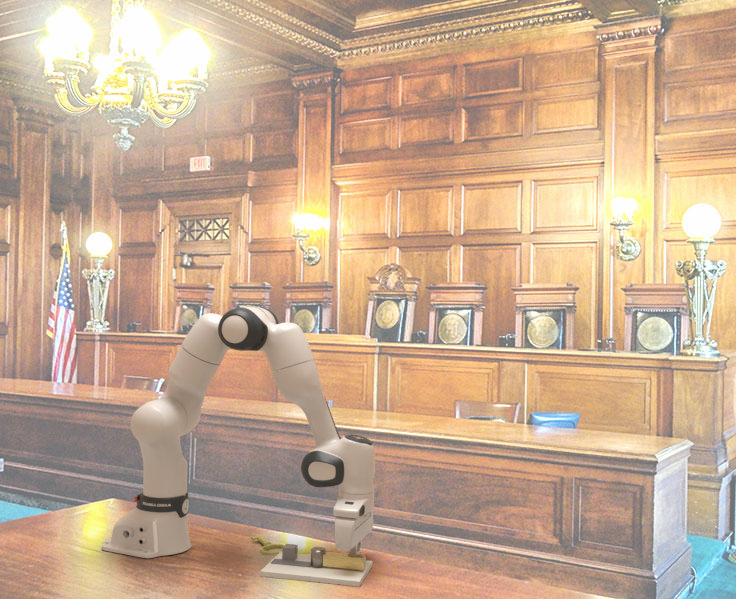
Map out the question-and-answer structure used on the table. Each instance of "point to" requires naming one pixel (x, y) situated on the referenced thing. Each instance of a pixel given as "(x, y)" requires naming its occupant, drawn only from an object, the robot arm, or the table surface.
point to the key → (267, 545)
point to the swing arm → (336, 559)
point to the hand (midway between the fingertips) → (354, 558)
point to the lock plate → (311, 569)
